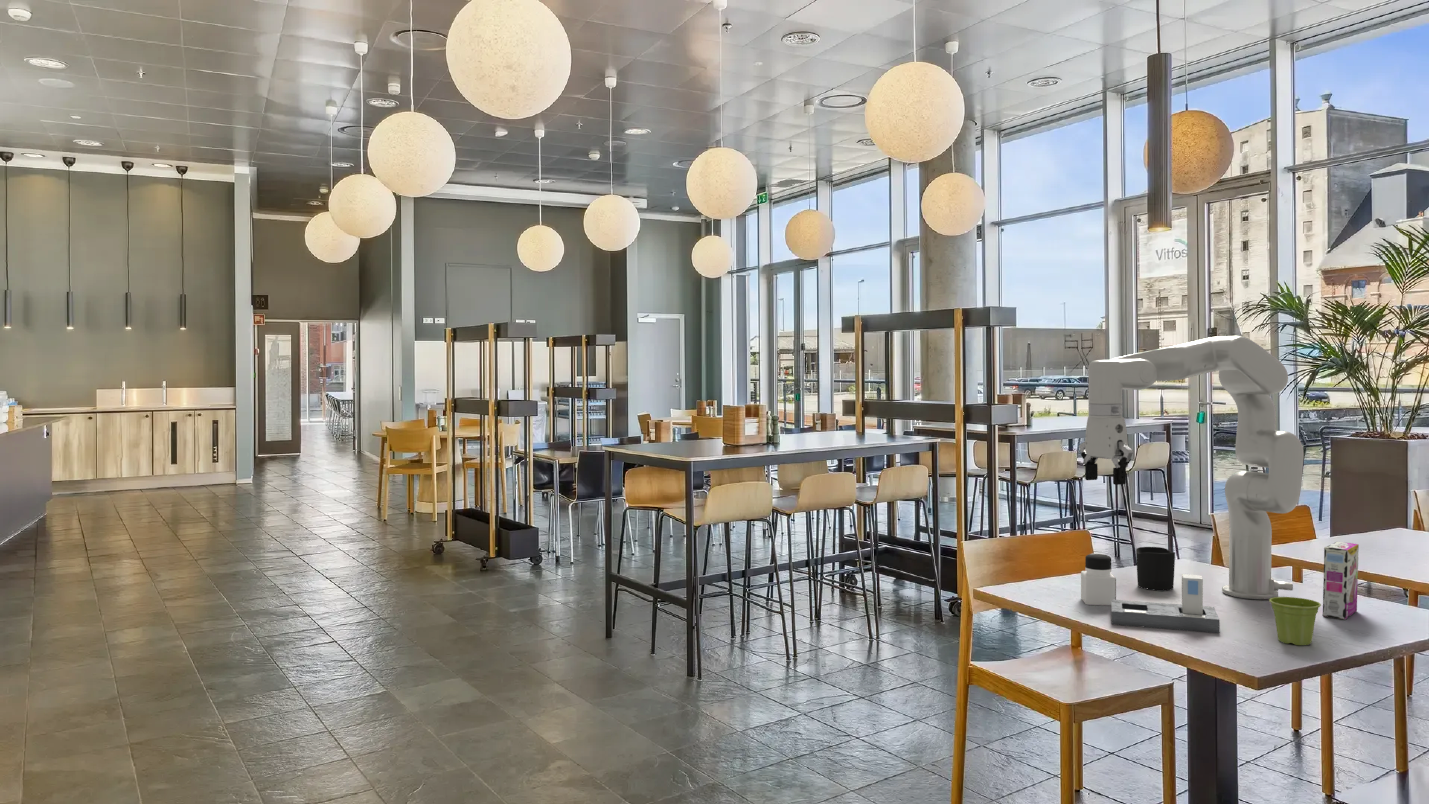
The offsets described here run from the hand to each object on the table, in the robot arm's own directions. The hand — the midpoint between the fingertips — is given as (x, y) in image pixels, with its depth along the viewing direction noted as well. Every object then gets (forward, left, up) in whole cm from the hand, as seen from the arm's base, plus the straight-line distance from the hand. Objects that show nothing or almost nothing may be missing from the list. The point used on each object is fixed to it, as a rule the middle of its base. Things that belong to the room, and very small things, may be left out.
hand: (1105, 482), depth 231 cm
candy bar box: (-51, -14, -32) cm, 62 cm away
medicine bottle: (+2, -8, -31) cm, 32 cm away
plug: (-18, +7, -31) cm, 37 cm away
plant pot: (-37, +15, -32) cm, 51 cm away
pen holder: (-12, -30, -32) cm, 45 cm away
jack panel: (-12, +7, -31) cm, 34 cm away
